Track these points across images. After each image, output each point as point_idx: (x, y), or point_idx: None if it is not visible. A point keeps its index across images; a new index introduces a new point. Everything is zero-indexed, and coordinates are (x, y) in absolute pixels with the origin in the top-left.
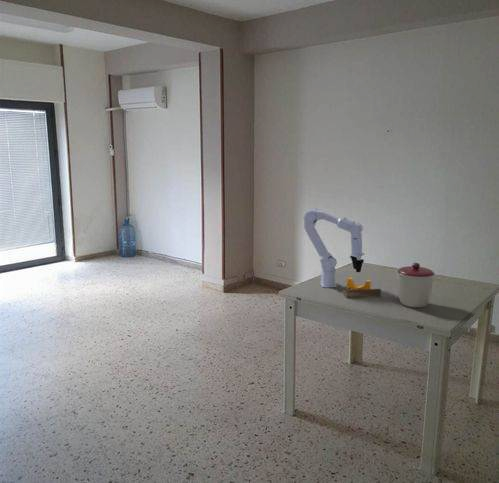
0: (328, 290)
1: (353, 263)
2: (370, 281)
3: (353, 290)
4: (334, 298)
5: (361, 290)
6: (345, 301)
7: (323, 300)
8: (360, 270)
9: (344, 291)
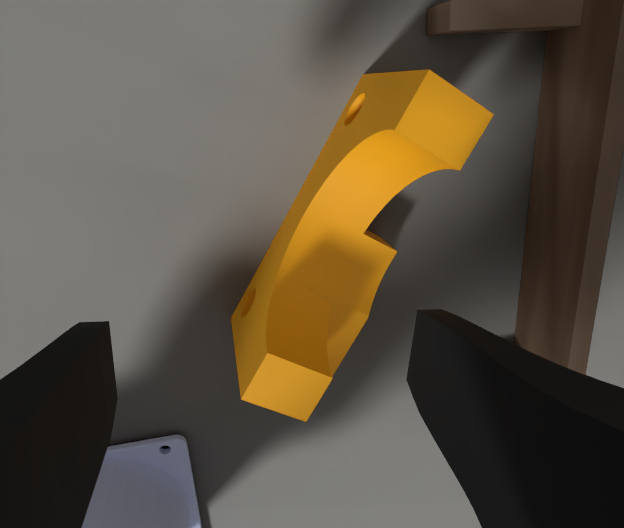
0: (295, 502)
1: (79, 521)
2: (446, 85)
3: (586, 343)
4: None
5: (598, 256)
6: (611, 380)
7: None
8: (465, 325)
9: None
